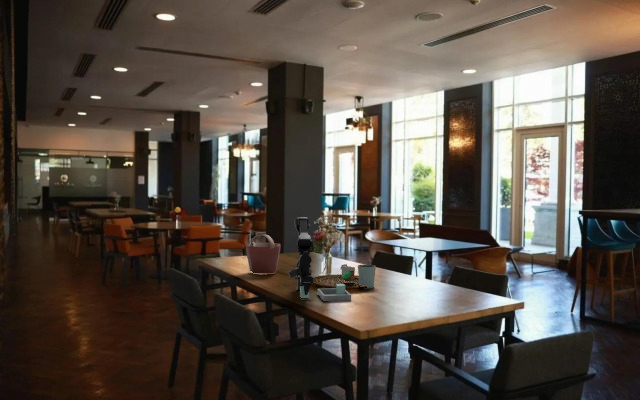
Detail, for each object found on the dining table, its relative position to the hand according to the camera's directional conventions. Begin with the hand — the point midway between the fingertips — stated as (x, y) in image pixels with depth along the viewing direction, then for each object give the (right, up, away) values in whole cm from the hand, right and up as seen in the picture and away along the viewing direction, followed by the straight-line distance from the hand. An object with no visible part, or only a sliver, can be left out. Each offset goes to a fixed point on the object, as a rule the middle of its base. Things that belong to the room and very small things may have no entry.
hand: (304, 293), depth 259 cm
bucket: (-28, 0, +73) cm, 78 cm away
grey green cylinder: (+34, -2, +30) cm, 45 cm away
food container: (+23, -2, +41) cm, 47 cm away
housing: (+15, -3, +2) cm, 15 cm away
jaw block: (0, -3, 0) cm, 3 cm away
